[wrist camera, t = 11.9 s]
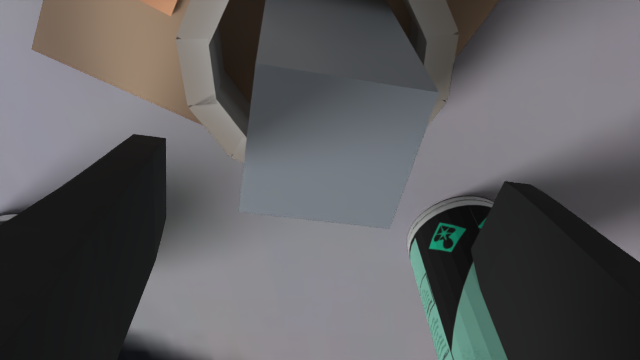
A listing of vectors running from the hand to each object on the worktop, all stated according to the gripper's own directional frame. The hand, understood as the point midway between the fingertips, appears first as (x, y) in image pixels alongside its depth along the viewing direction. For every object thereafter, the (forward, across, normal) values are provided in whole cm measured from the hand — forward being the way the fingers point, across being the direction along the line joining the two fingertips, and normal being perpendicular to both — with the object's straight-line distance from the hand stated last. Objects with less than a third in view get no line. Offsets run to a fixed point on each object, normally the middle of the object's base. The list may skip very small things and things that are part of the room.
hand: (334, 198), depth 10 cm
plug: (+9, 0, 0) cm, 9 cm away
